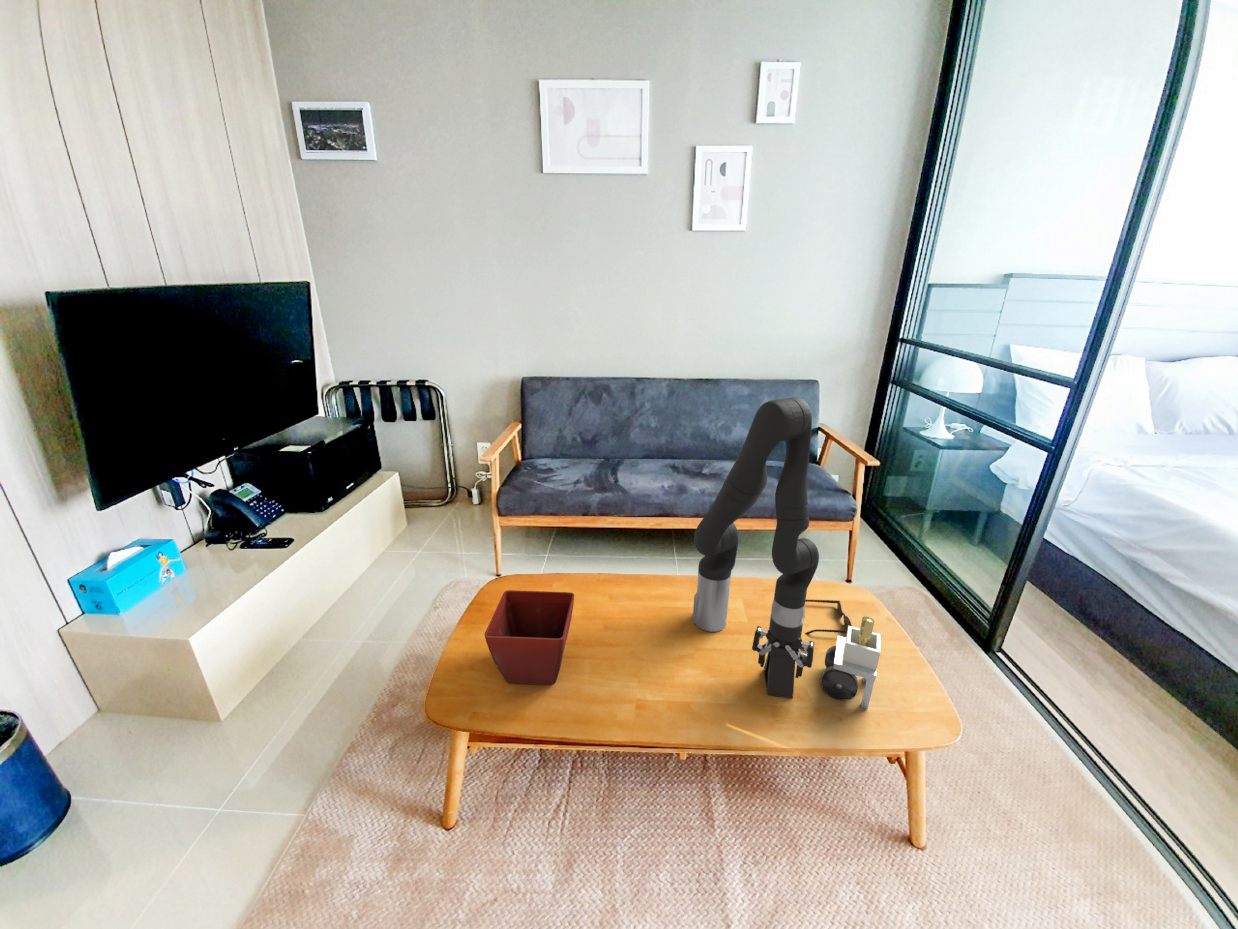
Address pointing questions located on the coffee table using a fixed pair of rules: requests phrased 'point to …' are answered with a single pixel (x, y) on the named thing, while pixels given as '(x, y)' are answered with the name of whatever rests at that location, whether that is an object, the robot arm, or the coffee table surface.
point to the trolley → (845, 675)
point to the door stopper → (779, 672)
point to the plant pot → (530, 635)
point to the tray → (862, 649)
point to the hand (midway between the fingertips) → (779, 670)
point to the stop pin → (865, 631)
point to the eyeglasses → (846, 619)
